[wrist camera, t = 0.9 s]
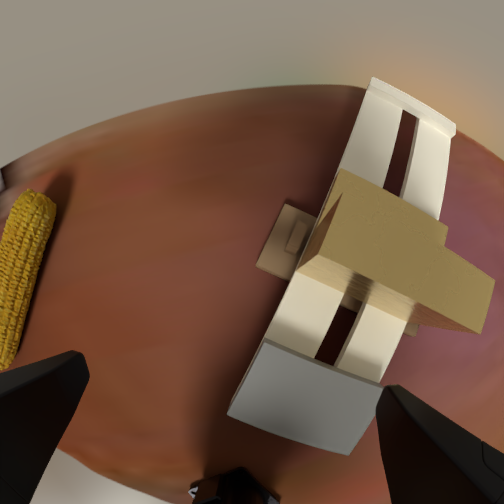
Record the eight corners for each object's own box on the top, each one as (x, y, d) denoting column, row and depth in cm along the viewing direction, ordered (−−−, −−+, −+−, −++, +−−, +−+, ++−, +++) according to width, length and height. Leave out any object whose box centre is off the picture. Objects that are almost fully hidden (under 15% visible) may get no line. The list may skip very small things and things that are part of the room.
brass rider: (403, 321, 20) (480, 334, 10) (294, 271, 21) (318, 254, 11) (431, 233, 20) (505, 202, 11) (332, 181, 22) (370, 112, 12)
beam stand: (409, 336, 22) (430, 337, 19) (255, 266, 24) (256, 257, 20) (427, 278, 23) (448, 272, 20) (283, 207, 25) (288, 190, 22)
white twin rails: (339, 438, 19) (348, 455, 16) (231, 399, 20) (226, 414, 17) (447, 133, 22) (460, 119, 19) (367, 88, 23) (375, 70, 20)
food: (43, 200, 26) (14, 179, 20) (71, 209, 26) (40, 186, 20) (1, 358, 21) (-31, 359, 16) (27, 381, 21) (-8, 386, 15)
